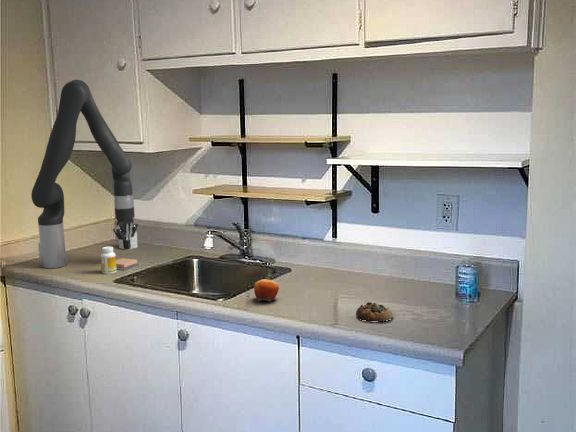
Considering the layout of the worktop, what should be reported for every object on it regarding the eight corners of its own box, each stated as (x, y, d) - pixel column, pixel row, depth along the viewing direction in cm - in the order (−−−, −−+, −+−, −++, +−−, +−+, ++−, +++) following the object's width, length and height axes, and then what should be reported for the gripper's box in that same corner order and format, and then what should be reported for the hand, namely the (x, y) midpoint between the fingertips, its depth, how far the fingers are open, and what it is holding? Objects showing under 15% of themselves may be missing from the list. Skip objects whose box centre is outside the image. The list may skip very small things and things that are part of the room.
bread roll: (348, 318, 183) (350, 302, 183) (366, 313, 193) (367, 297, 192) (382, 327, 177) (384, 310, 177) (399, 321, 186) (401, 304, 186)
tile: (121, 261, 254) (108, 266, 247) (121, 258, 254) (107, 262, 246) (137, 263, 251) (124, 268, 243) (137, 259, 250) (124, 264, 243)
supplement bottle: (118, 270, 242) (117, 245, 240) (113, 274, 236) (111, 249, 235) (105, 270, 242) (103, 245, 240) (99, 274, 237) (98, 249, 235)
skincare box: (119, 248, 280) (117, 231, 278) (131, 245, 284) (130, 229, 282) (126, 250, 275) (124, 233, 274) (138, 247, 279) (137, 231, 278)
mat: (101, 268, 246) (101, 267, 246) (116, 262, 254) (116, 261, 254) (123, 270, 241) (123, 269, 241) (138, 264, 249) (138, 263, 249)
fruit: (250, 300, 197) (252, 276, 200) (255, 306, 204) (256, 282, 207) (276, 301, 196) (277, 276, 199) (279, 307, 203) (281, 283, 206)
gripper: (127, 203, 255) (130, 244, 258) (105, 208, 243) (108, 252, 246) (142, 204, 252) (145, 246, 255) (120, 209, 240) (123, 253, 243)
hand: (127, 249), depth 251 cm, fingers closed
